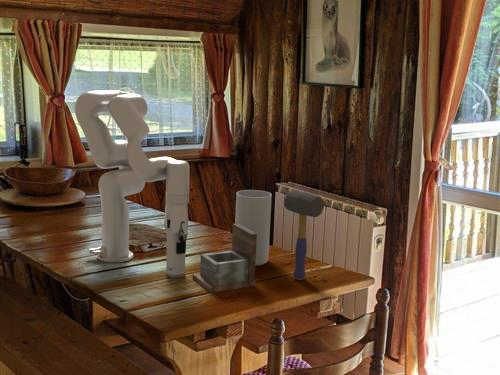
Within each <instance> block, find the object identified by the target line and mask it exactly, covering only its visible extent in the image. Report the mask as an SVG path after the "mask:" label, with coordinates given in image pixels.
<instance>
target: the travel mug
mask: <svg viewBox="0 0 500 375" xmlns="http://www.w3.org/2000/svg"><path fill="white" fill-rule="evenodd" d="M170 221H171V220H168V219H167V224H168V225H167V230H166V255H165V256H166V260H165V261H166V262H165V263H166V268H165V271H166V272H165V273H166V274H165V275H166V276H167V277H168V278H173V279H179V278H182V277H184V276H185V275H186V253H184V254H176V242H178V241H177V236H176V235H174V234H172V233H171V232H170ZM179 233H182V231H179ZM179 236H180V237H181V236H182V235H179Z"/></svg>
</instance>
